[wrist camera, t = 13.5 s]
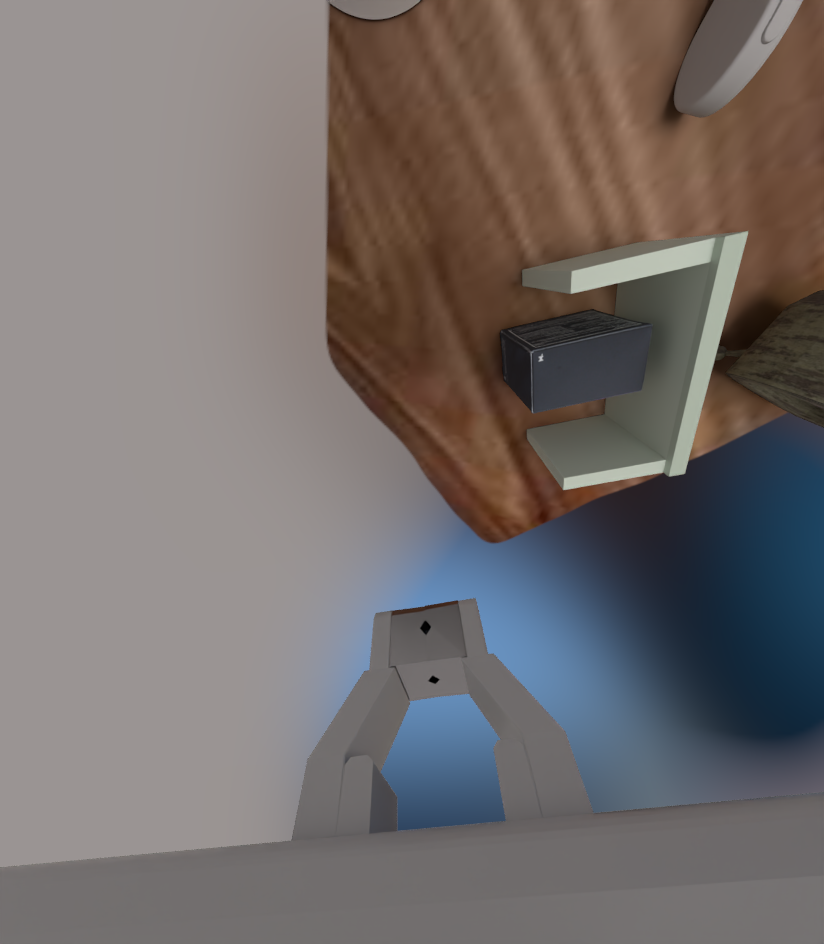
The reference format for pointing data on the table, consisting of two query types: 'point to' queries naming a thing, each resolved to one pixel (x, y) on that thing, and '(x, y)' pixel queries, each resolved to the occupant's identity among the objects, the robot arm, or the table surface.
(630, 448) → the rack
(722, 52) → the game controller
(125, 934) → the robot arm
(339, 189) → the table surface
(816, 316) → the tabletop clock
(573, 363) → the small box
